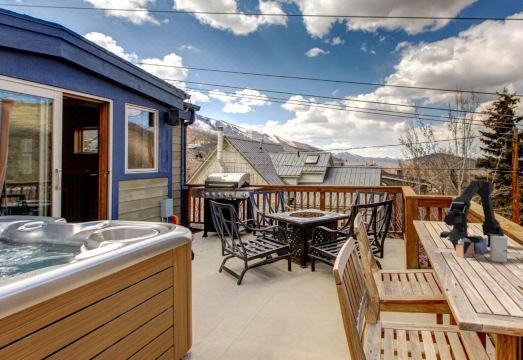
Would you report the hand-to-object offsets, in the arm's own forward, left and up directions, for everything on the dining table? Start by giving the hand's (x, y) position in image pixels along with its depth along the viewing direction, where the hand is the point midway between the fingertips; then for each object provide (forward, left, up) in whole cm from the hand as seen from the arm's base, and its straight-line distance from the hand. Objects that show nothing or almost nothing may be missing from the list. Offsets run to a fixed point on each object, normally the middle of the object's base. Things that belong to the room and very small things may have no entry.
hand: (460, 253), depth 169 cm
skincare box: (-6, +15, -2) cm, 16 cm away
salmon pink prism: (-5, 0, -2) cm, 5 cm away
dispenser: (-16, 0, -2) cm, 16 cm away
